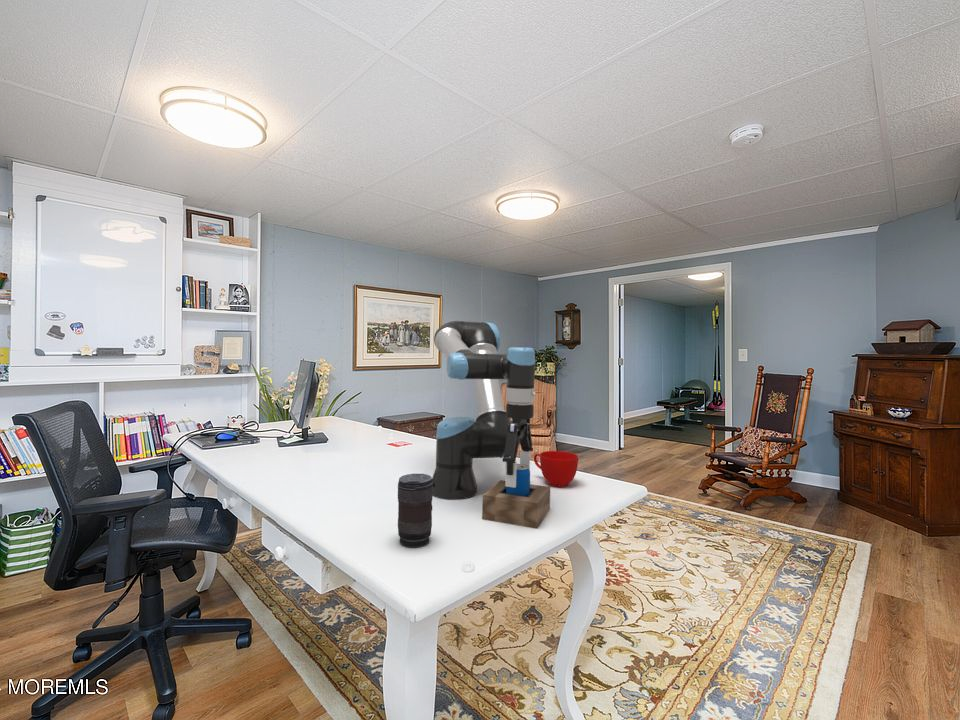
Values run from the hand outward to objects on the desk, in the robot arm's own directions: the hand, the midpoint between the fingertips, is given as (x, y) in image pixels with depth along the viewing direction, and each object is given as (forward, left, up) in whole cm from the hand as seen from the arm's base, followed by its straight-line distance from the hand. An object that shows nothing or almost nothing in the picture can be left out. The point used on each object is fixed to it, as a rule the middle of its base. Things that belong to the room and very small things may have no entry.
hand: (517, 479), depth 121 cm
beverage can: (0, 0, -8) cm, 8 cm away
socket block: (0, 0, -10) cm, 10 cm away
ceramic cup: (+3, +34, -10) cm, 35 cm away
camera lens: (-17, -27, -10) cm, 33 cm away
